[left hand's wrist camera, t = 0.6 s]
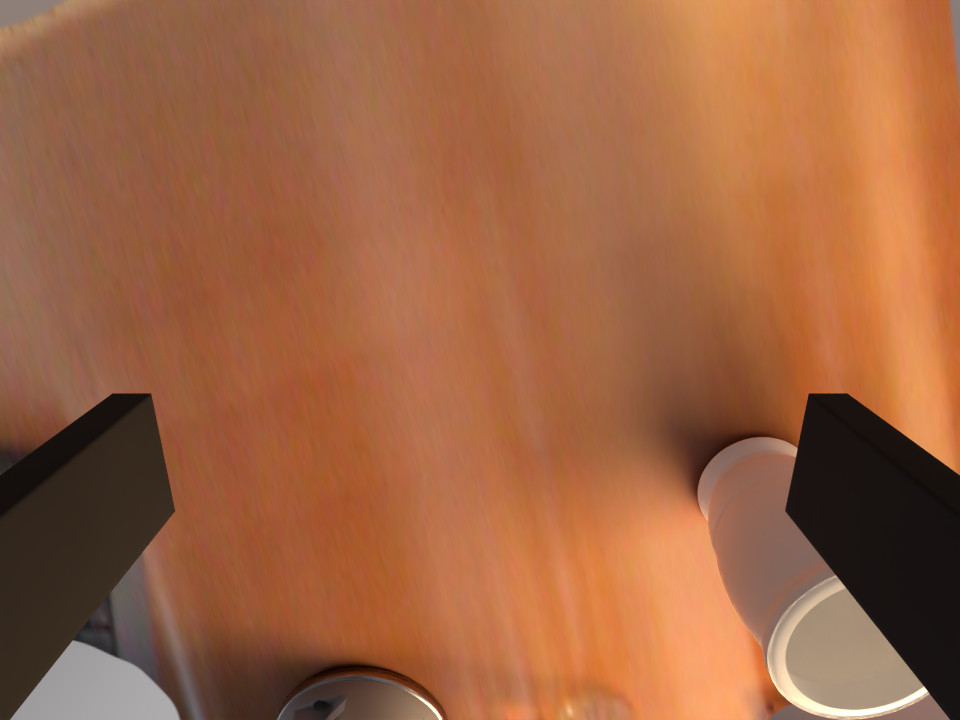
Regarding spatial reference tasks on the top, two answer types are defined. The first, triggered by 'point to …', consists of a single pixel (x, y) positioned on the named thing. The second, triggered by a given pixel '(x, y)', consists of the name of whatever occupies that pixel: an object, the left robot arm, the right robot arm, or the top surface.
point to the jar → (795, 592)
